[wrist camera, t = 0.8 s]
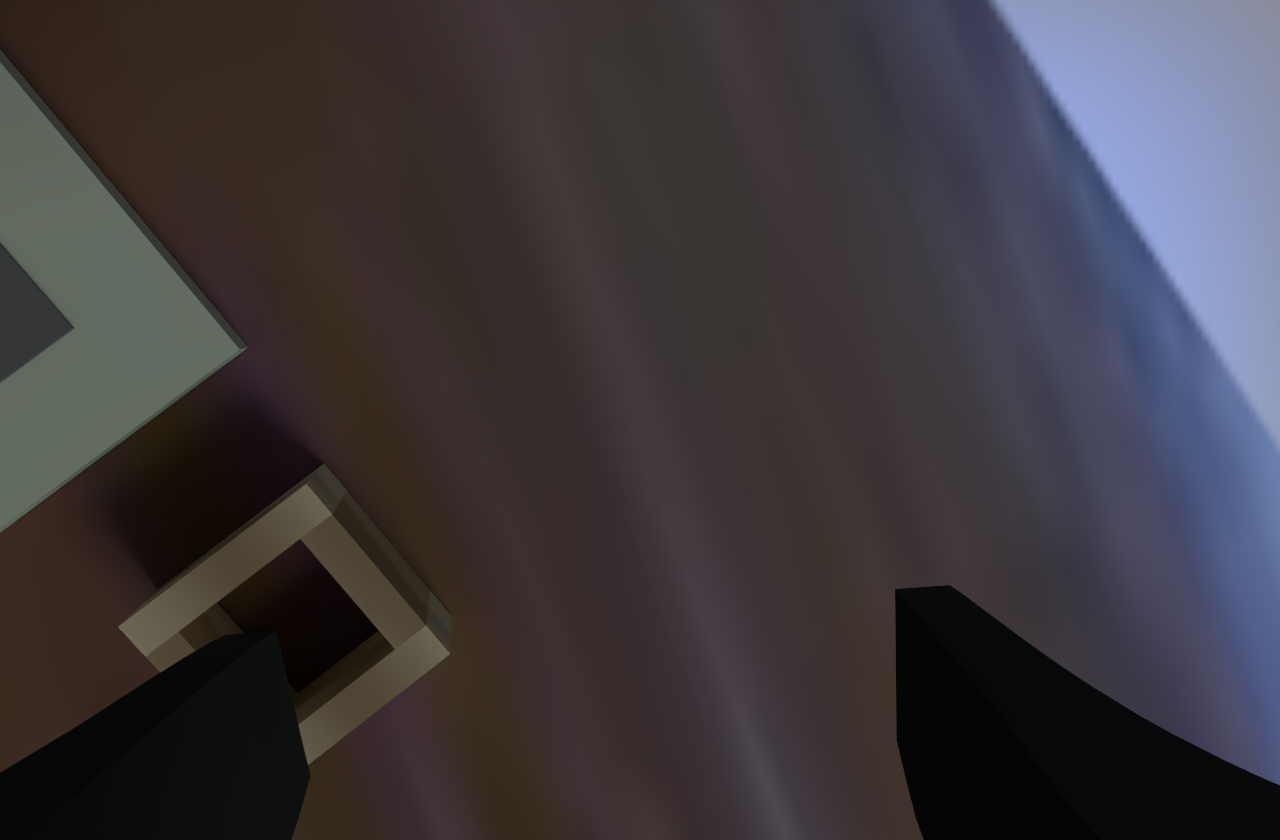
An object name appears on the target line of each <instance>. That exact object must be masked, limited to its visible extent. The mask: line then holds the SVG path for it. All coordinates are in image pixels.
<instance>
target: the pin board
mask: <svg viewBox="0 0 1280 840" xmlns="http://www.w3.org/2000/svg"><path fill="white" fill-rule="evenodd" d="M247 348H248V347H247V346H246V344H245V343H244V342H243V341H242V340H241V338H240V337H239V336H238V335H237V333H236V332H235V331H234V330H233V329H232V327H231V326H230V325H229V324H228V323H227V321H226V320H225V319H224V318H223V317H222V315H221V314H220V313H219V312H218V311H217V309H216V308H215V307H214V306H213V305H212V303H211V302H210V301H209V300H208V299H207V297H206V296H205V295H204V294H203V293H202V291H201V290H200V289H199V288H198V287H197V285H196V284H195V283H194V282H193V281H192V279H191V278H190V277H189V276H188V275H187V273H186V272H185V271H184V270H183V269H182V267H181V266H180V265H179V264H178V263H177V261H176V260H175V259H174V258H173V257H172V255H171V254H170V253H169V252H168V251H167V249H166V248H165V247H164V246H163V245H162V243H161V242H160V241H159V240H158V239H157V237H156V236H155V235H154V234H153V233H152V231H151V230H150V229H149V228H148V227H147V225H146V224H145V223H144V222H143V221H142V219H141V218H140V217H139V216H138V215H137V213H136V212H135V211H134V210H133V208H132V207H131V206H130V205H129V204H128V202H127V201H126V200H125V199H124V198H123V196H122V195H121V194H120V193H119V192H118V190H117V189H116V188H115V187H114V186H113V184H112V183H111V182H110V181H109V180H108V178H107V177H106V176H105V175H104V174H103V172H102V171H101V170H100V169H99V168H98V166H97V165H96V164H95V163H94V162H93V160H92V159H91V158H90V157H89V156H88V154H87V153H86V152H85V151H84V150H83V148H82V147H81V146H80V145H79V144H78V142H77V141H76V140H75V139H74V138H73V136H72V135H71V134H70V133H69V132H68V130H67V129H66V128H65V127H64V126H63V124H62V123H61V122H60V121H59V120H58V118H57V117H56V116H55V115H54V114H53V112H52V111H51V110H50V109H49V108H48V106H47V105H46V104H45V103H44V102H43V100H42V99H41V98H40V97H39V96H38V94H37V93H36V92H35V91H34V90H33V88H32V87H31V86H30V85H29V83H28V82H27V81H26V80H25V79H24V77H23V76H22V75H21V74H20V73H19V71H18V70H17V69H16V68H15V67H14V65H13V64H12V63H11V62H10V61H9V59H8V58H7V57H6V56H5V55H4V53H3V52H2V51H1V50H0V532H2V531H3V530H4V529H6V528H7V527H8V526H10V525H11V524H12V523H14V522H15V521H16V520H18V519H19V518H21V517H22V516H23V515H25V514H26V513H27V512H29V511H30V510H31V509H33V508H34V507H35V506H37V505H38V504H39V503H41V502H42V501H43V500H45V499H46V498H47V497H49V496H50V495H51V494H53V493H54V492H55V491H57V490H58V489H59V488H61V487H62V486H63V485H65V484H66V483H67V482H69V481H70V480H71V479H73V478H74V477H75V476H77V475H78V474H79V473H81V472H82V471H83V470H85V469H86V468H87V467H89V466H90V465H91V464H93V463H94V462H96V461H97V460H98V459H100V458H101V457H102V456H104V455H105V454H106V453H108V452H109V451H110V450H112V449H113V448H114V447H116V446H117V445H118V444H120V443H121V442H122V441H124V440H125V439H126V438H128V437H129V436H130V435H132V434H133V433H134V432H136V431H137V430H138V429H140V428H141V427H142V426H144V425H145V424H146V423H148V422H149V421H150V420H152V419H153V418H154V417H156V416H157V415H158V414H160V413H161V412H162V411H164V410H165V409H166V408H168V407H169V406H171V405H172V404H173V403H175V402H176V401H177V400H179V399H180V398H181V397H183V396H184V395H185V394H187V393H188V392H189V391H191V390H192V389H193V388H195V387H196V386H197V385H199V384H200V383H201V382H203V381H204V380H205V379H207V378H208V377H209V376H211V375H212V374H213V373H215V372H216V371H217V370H219V369H220V368H221V367H223V366H224V365H225V364H227V363H228V362H229V361H231V360H232V359H233V358H235V357H236V356H237V355H239V354H240V353H241V352H243V351H244V350H245V349H247Z"/></svg>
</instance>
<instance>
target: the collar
mask: <svg viewBox="0 0 1280 840" xmlns="http://www.w3.org/2000/svg"><path fill="white" fill-rule="evenodd" d="M299 539H301V540H302V541H303V543H304V544H305V545H306V546H307V547H308V548H309V550H310V551H311V552H312V553H313V554H314V555H315V557H316V558H317V559H318V560H319V561H320V562H321V564H322V565H323V566H324V567H325V568H326V569H327V571H328V572H329V573H330V574H331V575H332V576H333V577H334V579H335V580H336V581H337V582H338V583H339V584H340V586H341V587H342V588H343V589H344V590H345V591H346V593H347V594H348V595H349V596H350V597H351V598H352V600H353V601H354V602H355V603H356V604H357V605H358V607H359V608H360V609H361V610H362V611H363V612H364V614H365V615H366V616H367V617H368V618H369V619H370V621H371V622H372V623H373V624H374V625H375V626H376V628H377V629H378V630H379V631H377V632H376V633H375V634H373V635H372V636H371V637H370V638H368V639H367V640H366V641H364V642H363V643H362V644H361V645H359V646H358V647H357V648H355V649H354V650H353V651H351V652H350V653H349V654H348V655H346V656H345V657H344V658H342V659H341V660H340V661H339V662H337V663H336V664H335V665H333V666H332V667H331V668H330V669H328V670H327V671H326V672H324V673H323V674H322V675H321V676H319V677H318V678H317V679H315V680H314V681H313V682H311V683H310V684H309V685H308V686H306V687H305V688H304V689H302V690H301V691H300V692H299V693H297V692H296V691H295V690H294V689H293V687H292V686H291V685H290V684H289V687H290V692H291V696H292V700H293V704H294V709H295V713H296V717H297V721H298V725H299V730H300V734H301V738H302V742H303V747H304V751H305V755H306V759H307V763H308V764H310V763H311V762H312V761H314V760H315V759H316V758H317V757H319V756H320V755H321V754H323V753H324V752H325V751H326V750H328V749H329V748H330V747H332V746H333V745H334V744H335V743H337V742H338V741H339V740H341V739H342V738H343V737H344V736H346V735H347V734H348V733H349V732H351V731H352V730H353V729H355V728H356V727H357V726H358V725H360V724H361V723H362V722H364V721H365V720H366V719H367V718H369V717H370V716H371V715H373V714H374V713H375V712H376V711H378V710H379V709H380V708H382V707H383V706H384V705H385V704H387V703H388V702H389V701H390V700H392V699H393V698H394V697H396V696H397V695H398V694H399V693H401V692H402V691H403V690H405V689H406V688H407V687H408V686H410V685H411V684H412V683H414V682H415V681H416V680H417V679H419V678H420V677H421V676H423V675H424V674H425V673H426V672H428V671H429V670H430V669H431V668H433V667H434V666H435V665H437V664H438V663H439V662H440V661H442V660H443V659H444V658H446V657H447V656H448V655H449V654H450V646H451V622H452V616H451V615H450V613H449V612H448V611H447V610H446V609H445V607H444V606H443V605H442V604H441V603H440V601H439V600H438V599H437V598H436V597H435V596H434V594H433V593H432V592H431V591H430V590H429V588H428V587H427V586H426V585H425V584H424V582H423V581H422V580H421V579H420V578H419V576H418V575H417V574H416V573H415V572H414V570H413V569H412V568H411V567H410V566H409V564H408V563H407V562H406V561H405V560H404V558H403V557H402V556H401V555H400V554H399V552H398V551H397V550H396V549H395V548H394V547H393V545H392V544H391V543H390V542H389V541H388V539H387V538H386V537H385V536H384V535H383V533H382V532H381V531H380V530H379V529H378V527H377V526H376V525H375V524H374V523H373V521H372V520H371V519H370V518H369V517H368V515H367V514H366V513H365V512H364V511H363V509H362V508H361V507H360V506H359V505H358V504H357V502H356V501H355V500H354V499H353V498H352V496H351V495H350V494H349V493H348V492H347V490H346V489H345V488H344V487H343V486H342V484H341V483H340V482H339V481H338V480H337V478H336V477H335V476H334V475H333V474H332V472H331V471H330V470H329V469H328V468H327V466H326V465H325V464H322V465H321V466H320V467H319V468H317V469H316V470H315V471H313V472H312V473H311V474H309V475H308V476H307V477H305V478H304V479H303V480H301V481H300V482H299V483H297V484H296V485H295V486H294V487H292V488H291V489H290V490H288V491H287V492H286V493H284V494H283V495H282V496H280V497H279V498H278V499H276V500H275V501H274V502H272V503H271V504H270V505H268V506H267V507H266V508H265V509H263V510H262V511H261V512H259V513H258V514H257V515H255V516H254V517H253V518H251V519H250V520H249V521H247V522H246V523H245V524H243V525H242V526H241V527H240V528H238V529H237V530H236V531H234V532H233V533H232V534H230V535H229V536H228V537H226V538H225V539H224V540H222V541H221V542H220V543H218V544H217V545H216V546H215V547H213V548H212V549H211V550H209V551H208V552H207V553H205V554H204V555H203V556H201V557H200V558H199V559H197V560H196V561H195V562H193V563H192V564H191V565H189V566H188V567H187V568H186V569H184V570H183V571H182V572H180V573H179V574H178V575H176V576H175V577H174V578H172V579H171V580H170V581H168V582H167V583H166V584H164V585H163V586H162V587H161V588H159V589H158V590H157V591H156V592H155V593H153V594H152V595H151V596H150V597H149V598H148V599H147V600H146V601H145V602H144V603H143V604H142V605H141V606H140V607H139V608H138V609H137V610H135V611H134V612H133V613H132V614H131V615H130V616H129V617H128V618H127V619H126V620H125V621H124V622H123V623H122V624H121V625H120V626H119V628H120V629H121V631H122V632H123V633H124V634H125V635H126V636H127V637H128V638H129V639H130V640H131V641H132V643H133V644H134V645H135V646H136V647H137V648H138V649H139V650H140V651H141V652H142V653H143V654H144V656H145V657H146V658H147V659H148V660H149V661H150V662H151V663H152V664H153V665H154V666H155V668H156V669H157V670H158V671H159V672H160V673H161V672H162V671H164V670H165V669H167V668H168V667H170V666H172V665H173V664H175V663H176V662H178V661H180V660H181V659H183V658H184V657H186V656H188V655H189V654H191V653H193V652H194V651H196V650H198V649H199V648H201V647H203V646H205V645H206V644H208V643H210V642H212V641H214V640H216V639H218V638H220V637H222V636H224V635H228V634H242V633H244V632H243V631H242V630H241V629H240V628H239V627H238V626H237V625H236V623H235V622H234V621H233V620H232V619H231V618H230V617H229V616H228V614H227V613H226V612H225V611H224V610H223V609H222V608H221V607H220V605H219V604H218V603H217V602H218V601H219V600H220V599H222V598H223V597H224V596H226V595H227V594H228V593H230V592H231V591H232V590H234V589H235V588H236V587H238V586H239V585H240V584H241V583H243V582H244V581H245V580H247V579H248V578H249V577H251V576H252V575H253V574H255V573H256V572H257V571H258V570H260V569H261V568H262V567H264V566H265V565H266V564H268V563H269V562H270V561H272V560H273V559H274V558H276V557H277V556H278V555H279V554H281V553H282V552H283V551H285V550H286V549H287V548H289V547H290V546H291V545H293V544H294V543H295V542H296V541H298V540H299Z"/></svg>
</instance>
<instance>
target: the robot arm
mask: <svg viewBox="0 0 1280 840" xmlns="http://www.w3.org/2000/svg"><path fill="white" fill-rule="evenodd" d="M895 607H896V708H897V743H898V747H899V752H900V756H901V760H902V764H903V768H904V773H905V777H906V781H907V785H908V789H909V793H910V797H911V801H912V805H913V808H914V812H915V816H916V820H917V822H918V825H919V828H920V830H921V833H922V836H923V838H924V840H1280V785H1278V784H1275V783H1273V782H1270V781H1268V780H1266V779H1263V778H1261V777H1259V776H1257V775H1255V774H1252V773H1250V772H1248V771H1246V770H1244V769H1241V768H1239V767H1237V766H1235V765H1233V764H1231V763H1229V762H1226V761H1224V760H1223V759H1221V758H1219V757H1217V756H1215V755H1213V754H1211V753H1209V752H1207V751H1205V750H1203V749H1201V748H1199V747H1197V746H1195V745H1193V744H1191V743H1189V742H1187V741H1185V740H1183V739H1181V738H1179V737H1177V736H1175V735H1173V734H1171V733H1169V732H1168V731H1166V730H1164V729H1162V728H1160V727H1159V726H1157V725H1155V724H1153V723H1151V722H1150V721H1148V720H1146V719H1144V718H1143V717H1141V716H1139V715H1138V714H1136V713H1134V712H1133V711H1131V710H1129V709H1128V708H1126V707H1124V706H1123V705H1121V704H1120V703H1118V702H1116V701H1115V700H1113V699H1111V698H1110V697H1108V696H1106V695H1105V694H1103V693H1102V692H1100V691H1098V690H1097V689H1095V688H1093V687H1092V686H1090V685H1089V684H1087V683H1086V682H1084V681H1083V680H1081V679H1080V678H1078V677H1077V676H1075V675H1074V674H1072V673H1071V672H1069V671H1068V670H1066V669H1065V668H1063V667H1062V666H1060V665H1059V664H1057V663H1056V662H1054V661H1053V660H1052V659H1050V658H1049V657H1047V656H1046V655H1045V654H1043V653H1042V652H1040V651H1039V650H1037V649H1036V648H1035V647H1033V646H1032V645H1030V644H1029V643H1028V642H1026V641H1025V640H1024V639H1022V638H1021V637H1019V636H1018V635H1017V634H1015V633H1014V632H1013V631H1011V630H1010V629H1009V628H1007V627H1006V626H1005V625H1003V624H1002V623H1001V622H999V621H998V620H997V619H995V618H994V617H993V616H991V615H990V614H989V613H987V612H986V611H985V610H983V609H982V608H981V607H979V606H978V605H977V604H975V603H974V602H973V601H971V600H970V599H968V598H967V597H966V596H964V595H963V594H962V593H960V592H959V591H957V590H956V589H954V588H953V587H951V586H950V585H948V586H933V587H919V588H904V589H895ZM309 779H310V772H309V768H308V763H307V759H306V755H305V751H304V747H303V742H302V738H301V734H300V730H299V725H298V721H297V717H296V713H295V709H294V704H293V700H292V696H291V692H290V687H289V683H288V679H287V675H286V670H285V666H284V662H283V658H282V654H281V649H280V645H279V641H278V637H277V632H276V631H272V632H257V633H242V634H228V635H224V636H222V637H220V638H218V639H216V640H214V641H212V642H210V643H208V644H206V645H205V646H203V647H201V648H199V649H198V650H196V651H194V652H193V653H191V654H189V655H188V656H186V657H184V658H183V659H181V660H180V661H178V662H176V663H175V664H173V665H172V666H170V667H168V668H167V669H165V670H164V671H162V672H161V673H159V674H157V675H156V676H154V677H153V678H151V679H150V680H148V681H147V682H145V683H144V684H142V685H140V686H139V687H137V688H136V689H134V690H133V691H131V692H130V693H128V694H126V695H125V696H123V697H122V698H120V699H119V700H117V701H116V702H114V703H113V704H111V705H109V706H108V707H106V708H105V709H103V710H102V711H100V712H99V713H97V714H96V715H94V716H92V717H91V718H89V719H88V720H86V721H85V722H83V723H82V724H80V725H78V726H77V727H75V728H74V729H72V730H70V731H69V732H67V733H65V734H64V735H62V736H60V737H59V738H57V739H55V740H54V741H52V742H50V743H49V744H47V745H45V746H44V747H42V748H40V749H39V750H37V751H36V752H34V753H32V754H31V755H29V756H27V757H26V758H24V759H22V760H21V761H19V762H17V763H16V764H14V765H12V766H11V767H9V768H7V769H6V770H4V771H2V772H1V773H0V840H291V839H292V836H293V833H294V830H295V827H296V824H297V821H298V818H299V814H300V811H301V807H302V804H303V800H304V797H305V793H306V790H307V786H308V783H309Z"/></svg>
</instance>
